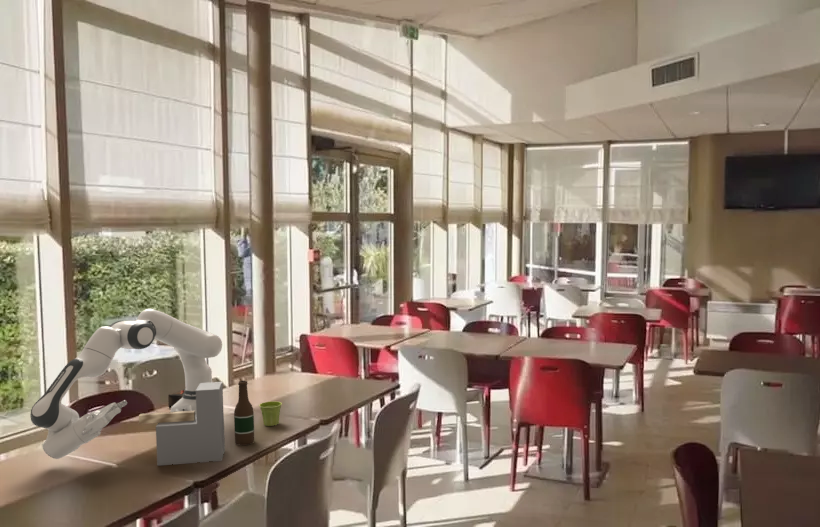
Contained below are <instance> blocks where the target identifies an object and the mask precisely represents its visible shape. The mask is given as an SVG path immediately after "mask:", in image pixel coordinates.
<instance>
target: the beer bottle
mask: <svg viewBox="0 0 820 527" xmlns="http://www.w3.org/2000/svg"><path fill="white" fill-rule="evenodd" d="M237 385H238V399H237V400H238V401H237V403H236V405H235V408H234V411H233V412H234V414H233V420H234V421H233V423H234V443H235V445H238V446H248V444H249V445H251V444H253V442H255V418H254V416H255V414H254V407H253V404H252V403H251V402H250V400H249V392H248V385H249V383H248V381H247V380H240V381H238V384H237Z"/></svg>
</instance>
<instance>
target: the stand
mask: <svg viewBox="0 0 820 527" xmlns="http://www.w3.org/2000/svg"><path fill="white" fill-rule="evenodd" d="M223 389H224V386H223V381H212V382H208V383H200V384H199V386H198V388H197V389H196V410H197V415H195V420H194V421H179V422H163V423H156V426H155V440H156V442H155V443H156V465H157V466H169V465H172V464H173V465H183V464H184V465H185V464H186V465H187V464H196V463H197V462H200V463H210V462H209V461H213V462H222V461H223V457H224V455H223V454H225V451H226V448H225V447H226V445H225V444H226V443H225V441H226V440H225V421H224V420H225V419H224V418H225V416H224V415H225V414H224V413H225V412H224V392H223V391H224V390H223Z"/></svg>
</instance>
